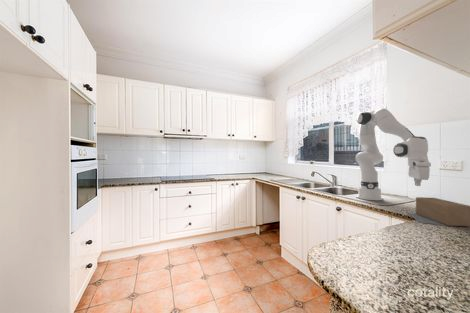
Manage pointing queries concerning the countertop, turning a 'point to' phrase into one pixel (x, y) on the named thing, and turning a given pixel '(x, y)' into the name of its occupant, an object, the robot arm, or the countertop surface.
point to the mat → (425, 220)
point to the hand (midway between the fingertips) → (417, 185)
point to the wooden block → (443, 211)
